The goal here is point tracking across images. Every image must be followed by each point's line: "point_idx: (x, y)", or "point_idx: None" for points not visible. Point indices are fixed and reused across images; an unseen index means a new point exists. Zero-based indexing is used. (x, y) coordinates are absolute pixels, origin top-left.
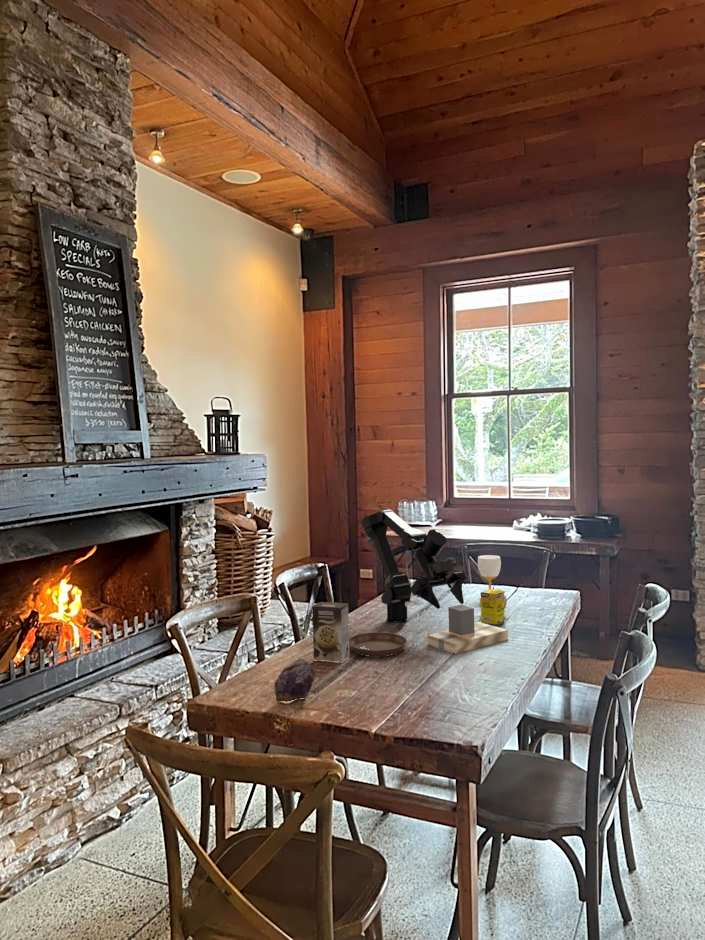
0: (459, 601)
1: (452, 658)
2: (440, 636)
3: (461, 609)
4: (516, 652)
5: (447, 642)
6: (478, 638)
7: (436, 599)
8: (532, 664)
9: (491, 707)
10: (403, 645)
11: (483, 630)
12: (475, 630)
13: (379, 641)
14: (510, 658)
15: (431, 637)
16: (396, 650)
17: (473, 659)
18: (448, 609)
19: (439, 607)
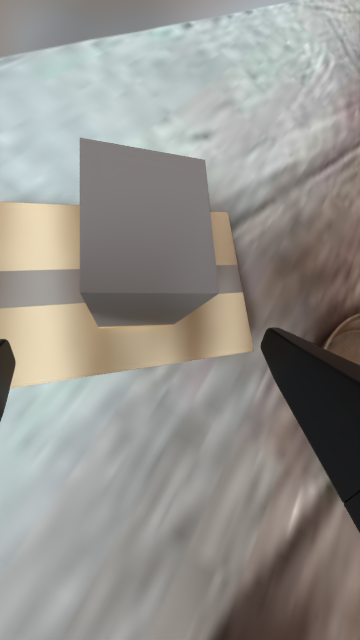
0: (3, 397)
1: (238, 211)
2: (223, 308)
3: (178, 183)
4: (47, 120)
5: (232, 248)
6: None
7: (329, 360)
8: (95, 42)
9: (306, 17)
10: (340, 324)
11: (13, 265)
12: (46, 288)
13: None
14: (108, 105)
15: (247, 329)
16: (353, 320)
17: None
18: (212, 296)
19: (273, 328)
